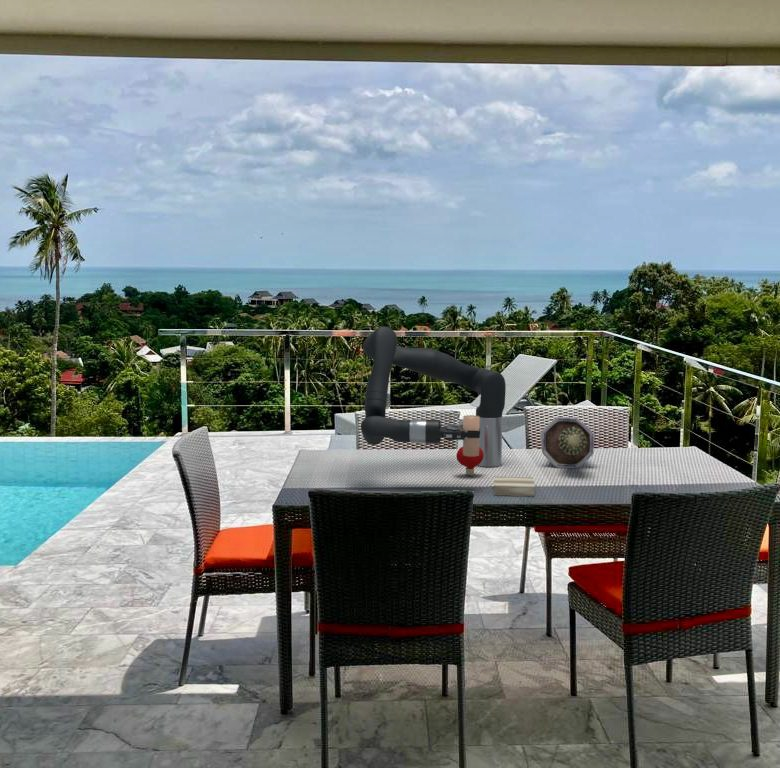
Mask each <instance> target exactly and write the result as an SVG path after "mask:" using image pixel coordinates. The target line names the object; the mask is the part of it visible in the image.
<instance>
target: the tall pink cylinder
mask: <svg viewBox="0 0 780 768" xmlns="http://www.w3.org/2000/svg"><path fill="white" fill-rule="evenodd" d="M462 422H463V424H462V425H463V430H467V432H468V430H471V431H479V423H480V417H479V416H476V414H475V415H474V414H471V415H470V414H469V415H468V414H467V415H463V417H462ZM462 447H463V455H464V456H479V438H468V437H467V439H465V440H462Z"/></svg>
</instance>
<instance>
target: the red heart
mask: <svg viewBox="0 0 780 768" xmlns="http://www.w3.org/2000/svg"><path fill="white" fill-rule="evenodd" d="M483 457H484V453H483V451H482V449H481V448H480V447H479V456H464V455H463V446H461V447H459V448H458V450H457V452H456V460H457V461H458V463H459V464H460V465H461V466H463V467H465V475H467V476H468V477H472V476H473V475H475V468H476V467H478V465H479V464H480V463H481V462H482V460H483Z"/></svg>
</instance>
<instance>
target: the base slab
mask: <svg viewBox="0 0 780 768" xmlns="http://www.w3.org/2000/svg"><path fill="white" fill-rule="evenodd" d="M493 479H494V483H493V487H494V489H493V490H494V491H493V492H494V494H493V495H511V496H510V497H526V496H535V490H536V487H535V481H534V477H530V476H529V477H527V476H523V477H522V476H521V477H520V476H494V477H493Z"/></svg>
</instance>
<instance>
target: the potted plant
mask: <svg viewBox="0 0 780 768" xmlns="http://www.w3.org/2000/svg"><path fill="white" fill-rule="evenodd" d="M540 435H541V436H540V438H541V453H542V454H543V456H544V457H545V458H546V459H547V461H549V462H550V463H551V464H552V465H553V466H554V467H555V468H557V467H558V469H579V468H581V467H582V466H583V465H584V464H585V463H586V462H587V461H589V460H590V459H591V457H592V456H593V455H594V447H595V445H594V444H595V443H594V441H595V440H594V433H593V431H592V430H591V429H590V428H589V427H588V426H587V425H586V424H585V423H584V422H582V421H581V420H580V419H579V418H576V417H562V416H561V417H560V416H559V417H558V416H557V417H555V418H554V419H553V420H551V422H550V423H549V424H547V425H546V426H545V427H544V428H543V429H542V430H541V434H540Z"/></svg>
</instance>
